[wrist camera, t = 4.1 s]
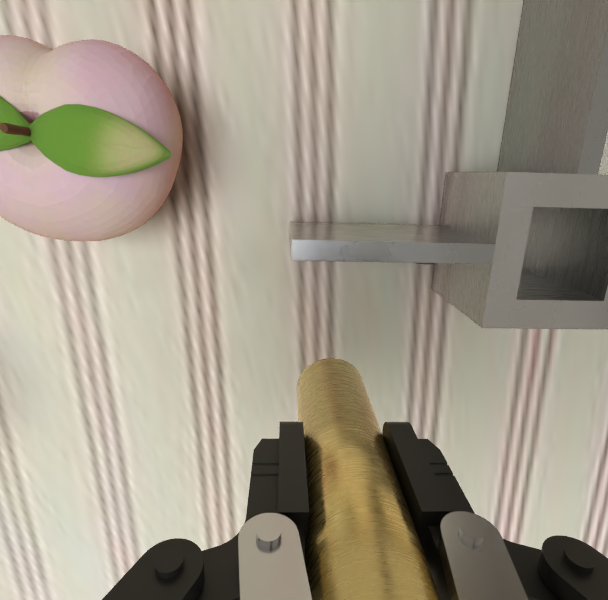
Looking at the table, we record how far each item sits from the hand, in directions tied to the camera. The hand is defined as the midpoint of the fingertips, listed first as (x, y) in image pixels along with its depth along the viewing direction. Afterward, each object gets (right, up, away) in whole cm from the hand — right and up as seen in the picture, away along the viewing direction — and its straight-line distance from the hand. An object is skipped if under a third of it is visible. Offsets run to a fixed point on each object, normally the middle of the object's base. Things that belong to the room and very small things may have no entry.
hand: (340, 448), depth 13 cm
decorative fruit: (-11, +13, +11) cm, 20 cm away
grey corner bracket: (+6, +13, +11) cm, 18 cm away
